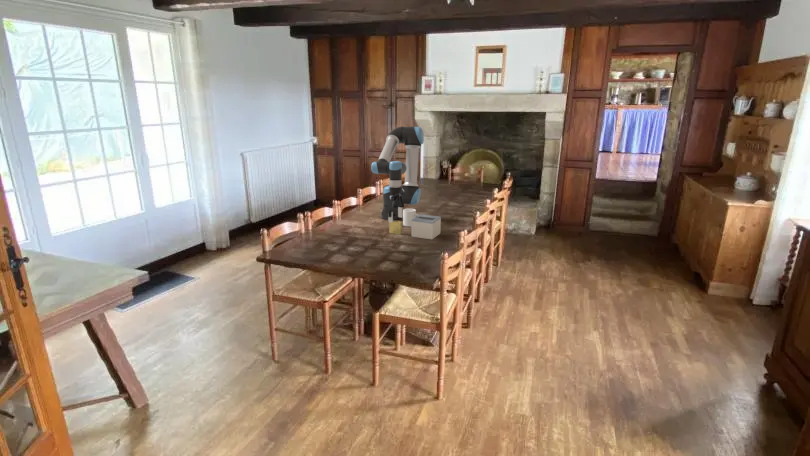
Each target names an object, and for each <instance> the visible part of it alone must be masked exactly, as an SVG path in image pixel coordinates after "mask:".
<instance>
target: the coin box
mask: <svg viewBox="0 0 810 456" xmlns="http://www.w3.org/2000/svg"><path fill="white" fill-rule="evenodd" d="M441 220H442V216H437V215H429V214H421V213H420V214H418V216H416V217H415V218H413V219H412V227H410V228H411V237H413V238H420V239H427V240H434V239H435V238H436V237H437V236H438V235H439V236H440V234H441V231H442V230H441V226H442V221H441Z"/></svg>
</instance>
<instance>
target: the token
mask: <svg viewBox="0 0 810 456" xmlns="http://www.w3.org/2000/svg"><path fill="white" fill-rule="evenodd" d="M388 227H389V229H388V231H389V234H395V235H402V234H403V220H393V222H388Z"/></svg>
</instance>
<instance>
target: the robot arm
mask: <svg viewBox="0 0 810 456" xmlns="http://www.w3.org/2000/svg"><path fill="white" fill-rule="evenodd" d="M424 135H425V134H424V130H423V128H422V127H420V126H397V127H395V128H394V129H392V130H391V131H390V132H389V133H388V134H387V136H386V138H385V142H384V143H385V144H384V145H383V149H382V150H381V152H380V155H379V157H378V159H377V161H373V162H372V163H371V166H370V167H371V168H370V170H371V172H372V173H373V174H377V175H389V181H388V185H386V186H384V187H383V189H382V205H383V207H382V211H381V213H380V217H381V219H382V220H387V222H388V223H389V222H393V220H395V221H397V220H400V219H403V208H404V207H405V205H409V206H410V205H412V206H413V205H415V206H416V205H417V204H418V203H419V202H420V199H421V195H422V189H421V188H420V187H419V185H418V171H419V169H418V168H419V167H418V166H419V151H420V149H421V147H422V145H423V144H424V142H425V137H424ZM399 144H403V145H404V148H405V149H406V153H405V154H406V155H405V162H402V161H400V160H393V161H391V159H392V157H393V154H394V152H395V150H396V147H398V146H399ZM402 175H404V183H403V181H402ZM402 183H403V184H402Z"/></svg>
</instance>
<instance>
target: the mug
mask: <svg viewBox="0 0 810 456" xmlns="http://www.w3.org/2000/svg"><path fill="white" fill-rule="evenodd" d="M418 215H419V214H418V213H417V209H415V208H403V209H402V226H403V227H406V228H407V227H408V228H411V227H412V219H413V218H415V217H417V216H418Z"/></svg>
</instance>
